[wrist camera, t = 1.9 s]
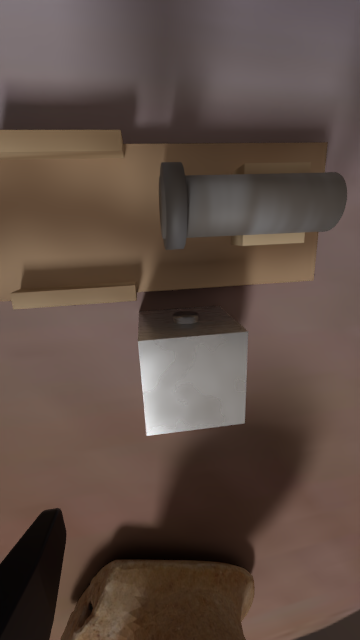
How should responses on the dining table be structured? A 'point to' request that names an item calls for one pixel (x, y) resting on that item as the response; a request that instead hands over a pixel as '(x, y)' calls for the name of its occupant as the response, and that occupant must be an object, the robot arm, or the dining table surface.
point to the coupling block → (192, 369)
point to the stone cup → (163, 602)
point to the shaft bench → (156, 215)
